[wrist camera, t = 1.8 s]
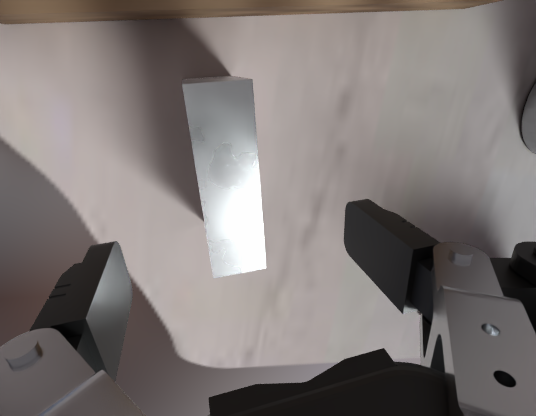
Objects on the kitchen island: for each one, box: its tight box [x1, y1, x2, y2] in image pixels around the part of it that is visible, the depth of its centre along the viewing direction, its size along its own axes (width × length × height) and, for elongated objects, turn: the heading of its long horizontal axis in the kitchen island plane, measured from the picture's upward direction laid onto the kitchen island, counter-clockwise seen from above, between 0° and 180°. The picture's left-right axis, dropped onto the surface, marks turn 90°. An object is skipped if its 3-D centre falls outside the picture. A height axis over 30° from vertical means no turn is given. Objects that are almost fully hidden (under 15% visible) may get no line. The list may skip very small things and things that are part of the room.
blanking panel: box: [182, 76, 266, 278], centre depth 19 cm, size 3×10×7 cm, turn 4°
